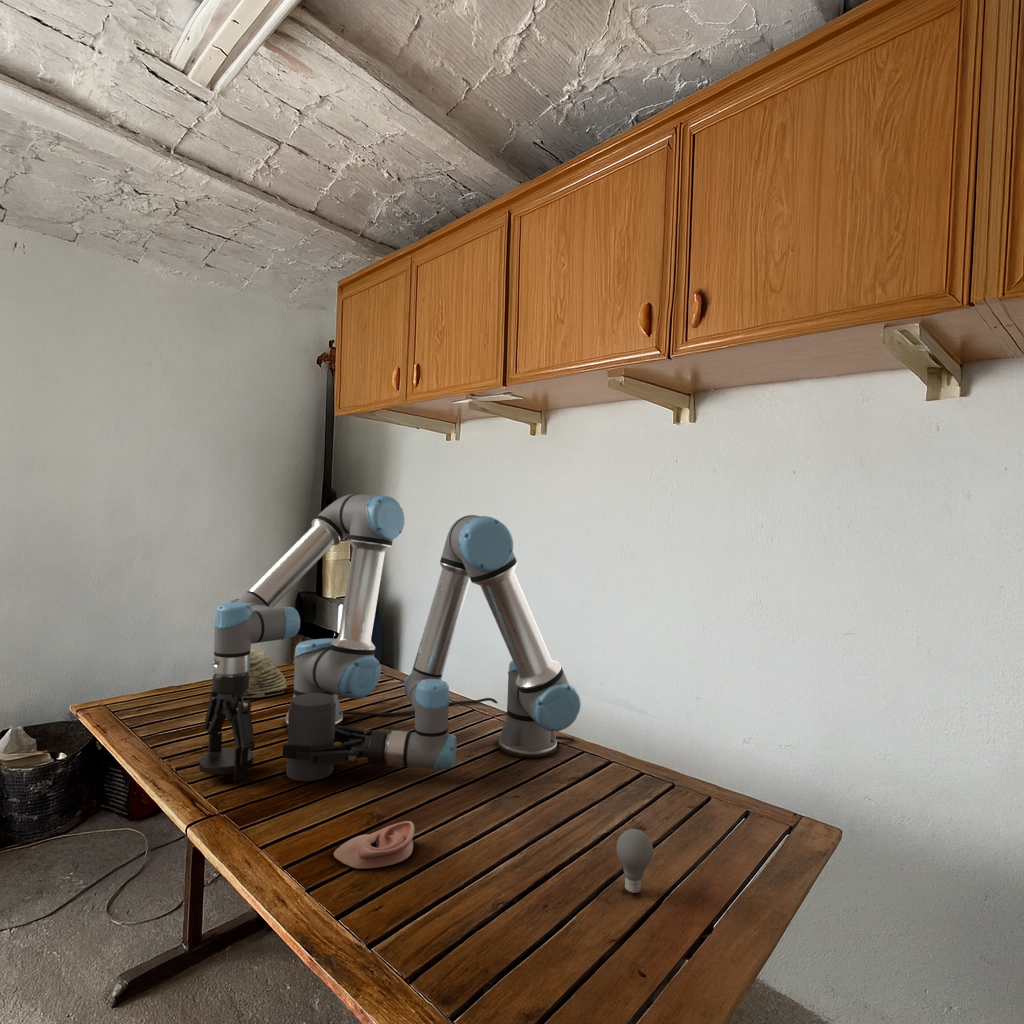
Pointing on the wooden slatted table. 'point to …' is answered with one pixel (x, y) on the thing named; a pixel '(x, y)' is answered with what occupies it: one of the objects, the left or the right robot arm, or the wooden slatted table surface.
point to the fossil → (263, 676)
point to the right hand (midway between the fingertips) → (293, 741)
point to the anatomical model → (378, 847)
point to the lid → (221, 761)
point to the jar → (310, 733)
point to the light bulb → (634, 857)
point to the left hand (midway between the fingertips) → (226, 770)
